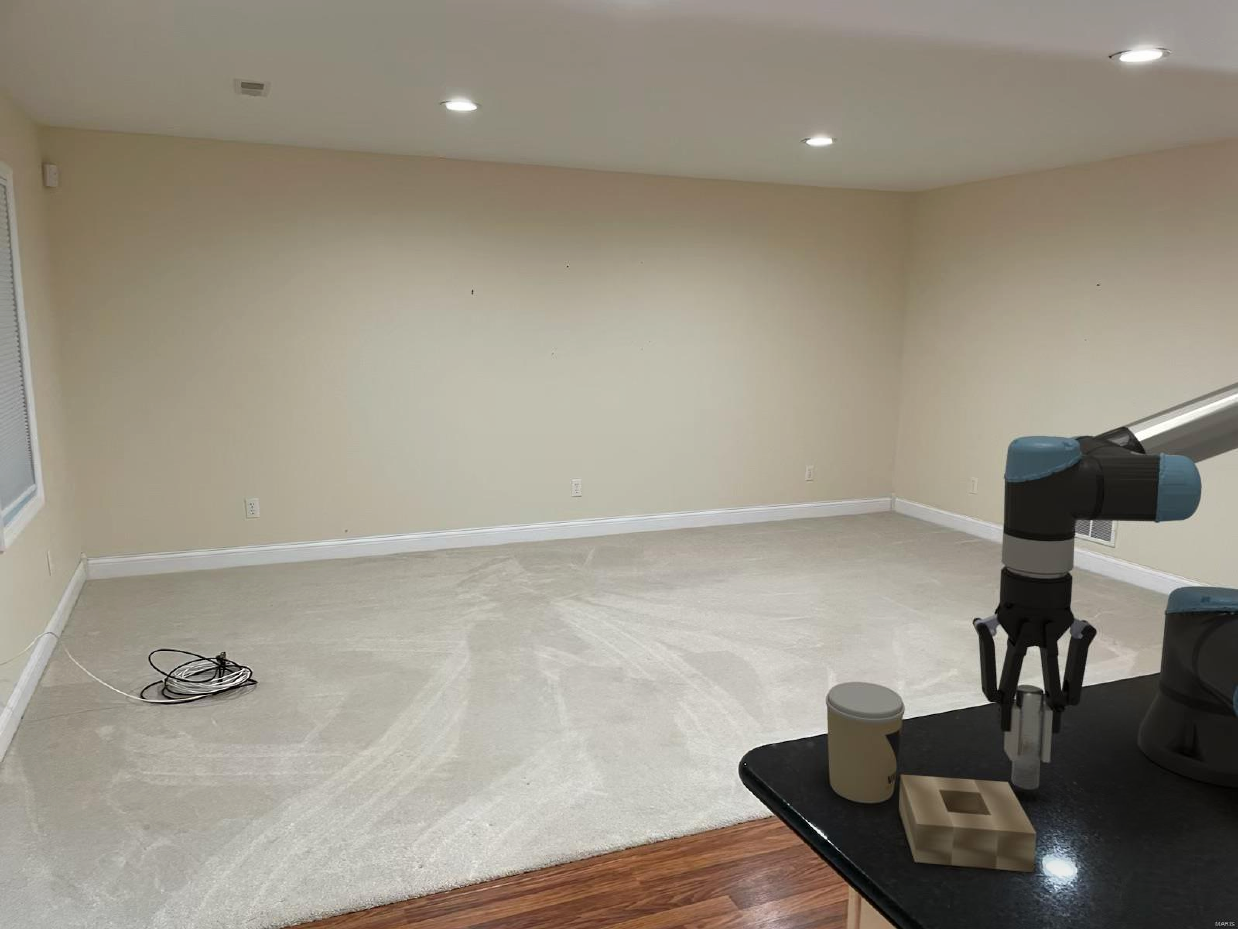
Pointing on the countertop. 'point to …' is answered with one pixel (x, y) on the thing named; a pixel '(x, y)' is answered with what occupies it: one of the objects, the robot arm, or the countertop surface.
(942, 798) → the hole block
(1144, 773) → the countertop surface
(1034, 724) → the peg
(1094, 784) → the countertop surface
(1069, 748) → the countertop surface
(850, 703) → the coffee cup
